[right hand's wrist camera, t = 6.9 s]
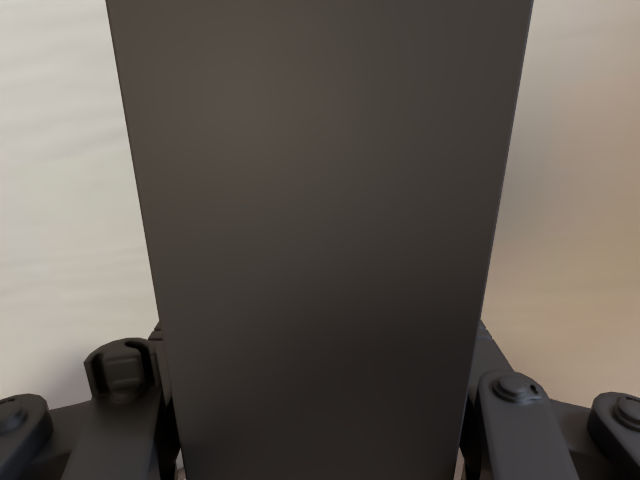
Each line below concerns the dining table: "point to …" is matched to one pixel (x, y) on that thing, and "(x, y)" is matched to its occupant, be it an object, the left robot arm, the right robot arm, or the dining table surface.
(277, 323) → the bar
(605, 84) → the dining table surface
